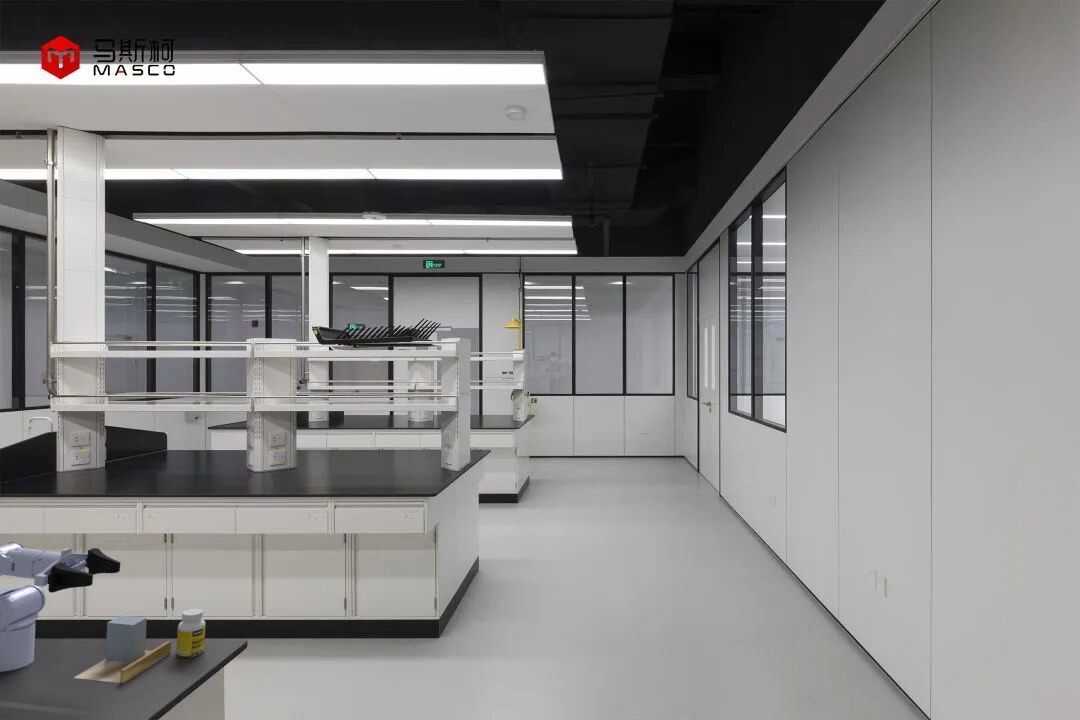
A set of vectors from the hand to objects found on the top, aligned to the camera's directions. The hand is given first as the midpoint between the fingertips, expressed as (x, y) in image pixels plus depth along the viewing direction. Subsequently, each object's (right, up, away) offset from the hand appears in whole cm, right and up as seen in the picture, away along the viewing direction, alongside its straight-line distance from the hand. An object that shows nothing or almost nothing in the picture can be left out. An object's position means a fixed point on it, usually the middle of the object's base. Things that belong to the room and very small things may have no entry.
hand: (105, 573), depth 138 cm
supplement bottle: (+12, -22, +10) cm, 27 cm away
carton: (0, -20, +6) cm, 21 cm away
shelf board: (+2, -21, +3) cm, 21 cm away
